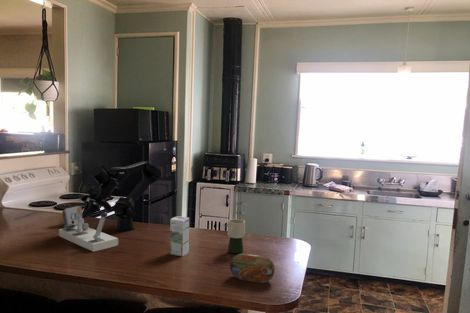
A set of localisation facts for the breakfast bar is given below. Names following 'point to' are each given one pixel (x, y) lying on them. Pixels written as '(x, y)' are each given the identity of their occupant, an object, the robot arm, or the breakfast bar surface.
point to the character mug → (236, 235)
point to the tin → (252, 268)
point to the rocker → (69, 226)
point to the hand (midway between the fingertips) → (81, 217)
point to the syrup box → (179, 236)
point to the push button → (84, 226)
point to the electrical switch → (71, 216)
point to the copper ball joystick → (79, 219)
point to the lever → (100, 226)
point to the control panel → (88, 238)
